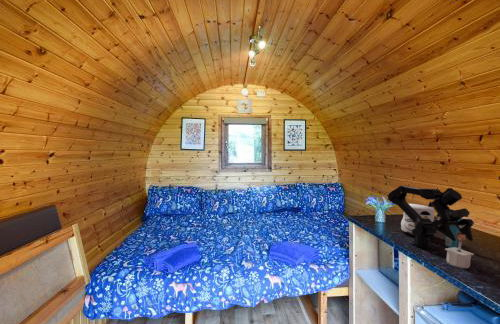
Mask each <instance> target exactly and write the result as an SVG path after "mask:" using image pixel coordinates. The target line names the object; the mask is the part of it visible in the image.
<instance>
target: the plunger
mask: <svg viewBox="0 0 500 324" xmlns="http://www.w3.org/2000/svg"><path fill="white" fill-rule="evenodd" d="M456 239H458V243H457V248H458V252H461V249H462V243H463V241H464V242H465V241H466V235H465V234H462V233H461V232H459V233H457V234H456Z"/></svg>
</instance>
